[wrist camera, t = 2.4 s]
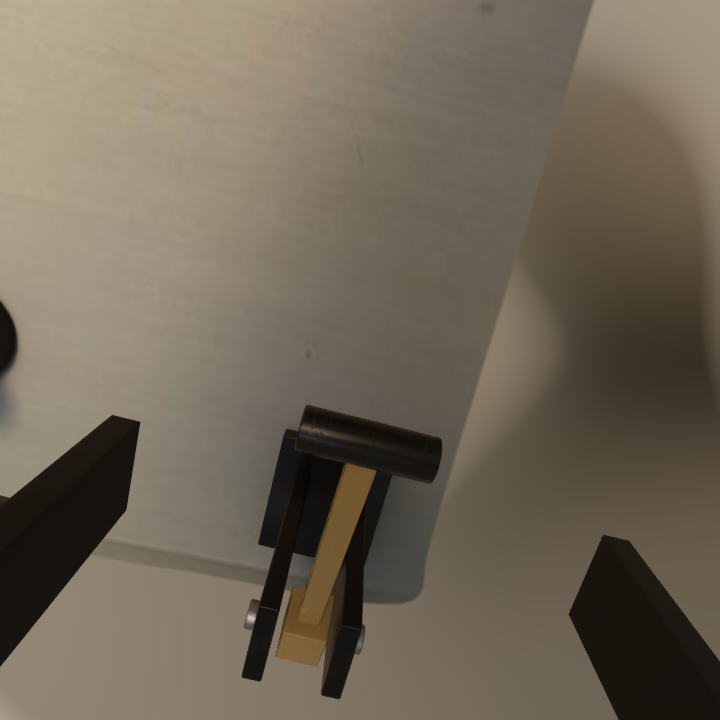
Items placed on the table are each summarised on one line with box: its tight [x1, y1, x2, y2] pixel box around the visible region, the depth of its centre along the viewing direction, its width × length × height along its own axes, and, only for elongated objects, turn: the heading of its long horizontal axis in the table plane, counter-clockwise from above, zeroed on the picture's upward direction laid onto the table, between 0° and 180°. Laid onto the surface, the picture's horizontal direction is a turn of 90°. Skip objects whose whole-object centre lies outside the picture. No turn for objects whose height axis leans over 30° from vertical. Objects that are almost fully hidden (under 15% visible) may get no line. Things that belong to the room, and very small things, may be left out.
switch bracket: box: [242, 429, 392, 699], centre depth 34 cm, size 9×8×15 cm
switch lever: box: [276, 405, 442, 666], centre depth 24 cm, size 16×5×2 cm, turn 166°
